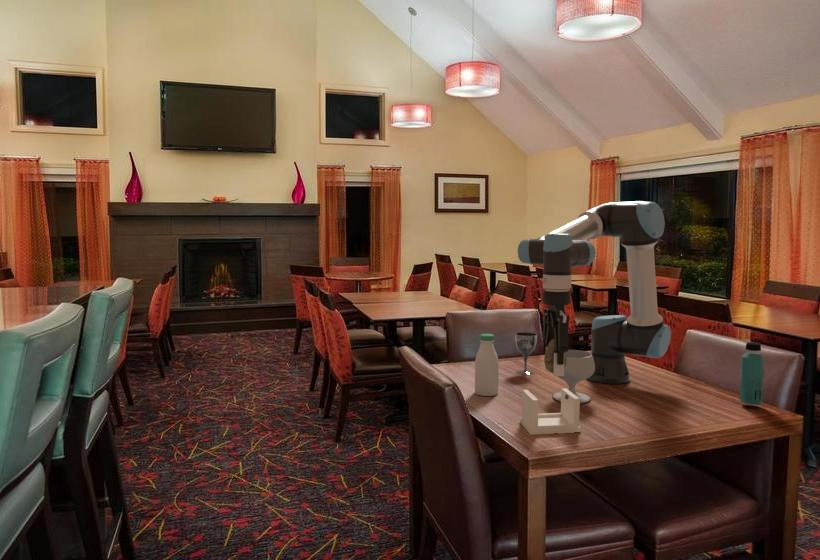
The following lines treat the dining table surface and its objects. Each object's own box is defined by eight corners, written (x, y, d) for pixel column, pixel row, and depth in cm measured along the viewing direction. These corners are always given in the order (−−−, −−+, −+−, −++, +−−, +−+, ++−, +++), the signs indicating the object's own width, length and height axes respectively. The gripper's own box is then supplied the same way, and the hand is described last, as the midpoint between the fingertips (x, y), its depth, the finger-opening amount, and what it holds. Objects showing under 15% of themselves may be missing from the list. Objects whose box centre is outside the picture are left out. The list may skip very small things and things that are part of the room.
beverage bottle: (754, 410, 180) (757, 345, 178) (733, 404, 186) (736, 341, 184) (767, 407, 183) (771, 343, 181) (746, 401, 189) (750, 339, 187)
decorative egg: (564, 377, 162) (565, 340, 161) (542, 375, 164) (543, 339, 163) (566, 371, 167) (567, 336, 166) (545, 370, 169) (546, 335, 168)
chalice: (545, 392, 200) (546, 348, 199) (587, 392, 200) (588, 348, 198) (554, 405, 186) (555, 358, 185) (599, 405, 186) (600, 358, 184)
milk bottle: (497, 397, 195) (498, 337, 193) (473, 396, 196) (474, 336, 194) (498, 390, 202) (499, 332, 200) (475, 389, 204) (476, 332, 202)
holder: (567, 420, 172) (568, 388, 171) (580, 432, 162) (581, 398, 161) (520, 422, 171) (520, 389, 170) (530, 434, 161) (531, 400, 160)
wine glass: (539, 371, 227) (539, 333, 226) (531, 376, 221) (532, 336, 219) (519, 369, 232) (520, 331, 230) (511, 373, 225) (512, 334, 223)
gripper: (532, 286, 172) (530, 365, 174) (555, 294, 153) (553, 382, 156) (557, 286, 173) (555, 364, 175) (583, 293, 154) (580, 381, 156)
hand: (554, 372), depth 165 cm, fingers closed on decorative egg, 6 cm apart
